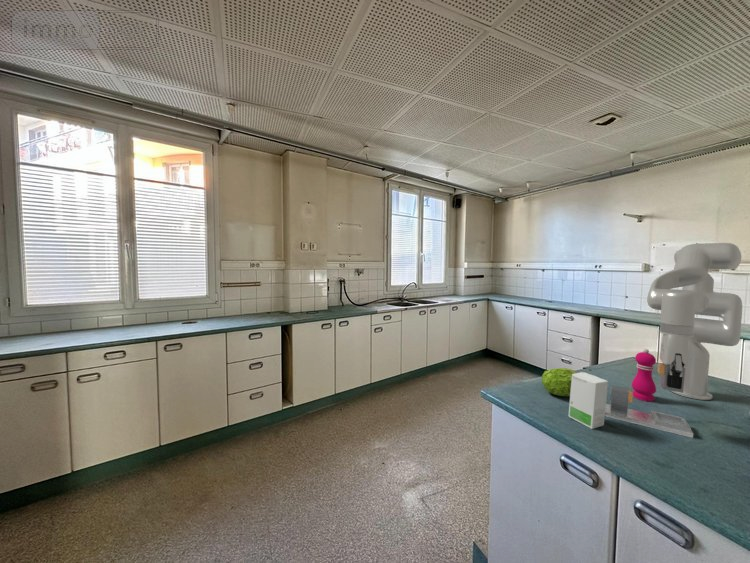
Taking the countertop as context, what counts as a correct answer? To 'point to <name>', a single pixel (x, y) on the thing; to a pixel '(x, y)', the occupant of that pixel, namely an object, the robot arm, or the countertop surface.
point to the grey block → (664, 371)
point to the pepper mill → (644, 377)
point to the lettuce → (558, 381)
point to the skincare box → (588, 399)
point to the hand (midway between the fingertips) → (672, 384)
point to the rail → (643, 414)
